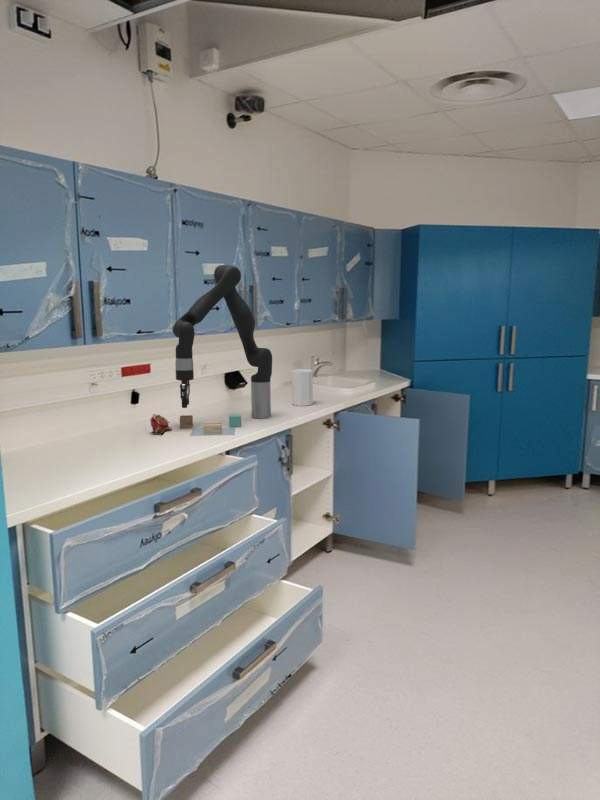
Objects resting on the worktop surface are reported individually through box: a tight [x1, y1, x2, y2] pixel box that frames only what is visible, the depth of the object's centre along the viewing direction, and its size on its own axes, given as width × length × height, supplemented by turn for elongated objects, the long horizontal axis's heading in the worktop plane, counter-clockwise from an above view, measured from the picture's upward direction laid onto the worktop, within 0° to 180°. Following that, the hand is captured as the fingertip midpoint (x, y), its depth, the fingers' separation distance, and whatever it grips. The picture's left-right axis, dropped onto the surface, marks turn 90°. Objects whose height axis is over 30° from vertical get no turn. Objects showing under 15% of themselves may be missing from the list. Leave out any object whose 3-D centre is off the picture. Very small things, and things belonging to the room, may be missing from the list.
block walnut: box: [179, 414, 194, 430], centre depth 251 cm, size 5×5×6 cm
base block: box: [203, 421, 223, 436], centre depth 240 cm, size 7×7×4 cm
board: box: [189, 427, 236, 437], centre depth 242 cm, size 14×18×1 cm
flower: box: [149, 413, 173, 435], centre depth 245 cm, size 10×9×8 cm
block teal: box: [228, 413, 242, 428], centre depth 252 cm, size 5×5×6 cm
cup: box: [291, 368, 314, 407], centre depth 310 cm, size 11×11×18 cm
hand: (185, 406), depth 249 cm, fingers open, 8 cm apart
